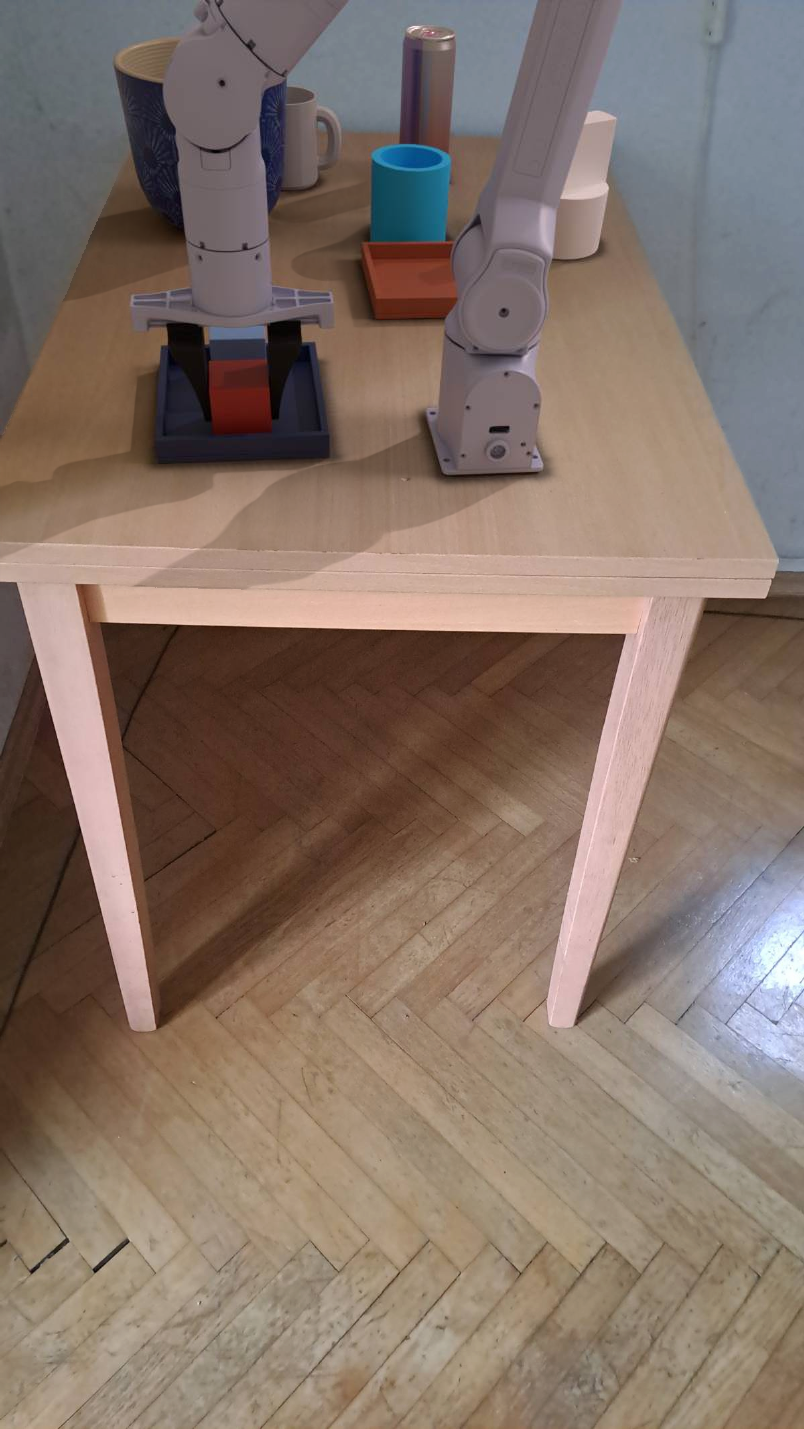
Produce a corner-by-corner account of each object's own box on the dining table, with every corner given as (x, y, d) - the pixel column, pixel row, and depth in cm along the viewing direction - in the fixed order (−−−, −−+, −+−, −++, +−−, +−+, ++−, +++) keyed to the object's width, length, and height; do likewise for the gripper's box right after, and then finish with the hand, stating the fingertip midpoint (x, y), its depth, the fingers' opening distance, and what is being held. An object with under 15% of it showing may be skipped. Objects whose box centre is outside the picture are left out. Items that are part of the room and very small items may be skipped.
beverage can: (391, 181, 119) (396, 34, 108) (406, 166, 123) (412, 22, 112) (439, 189, 118) (449, 40, 107) (452, 173, 122) (462, 28, 111)
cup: (259, 168, 120) (254, 84, 114) (341, 171, 121) (341, 87, 114) (255, 190, 115) (250, 103, 109) (341, 193, 116) (341, 106, 109)
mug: (442, 258, 104) (448, 174, 98) (365, 251, 105) (367, 167, 99) (449, 215, 113) (455, 135, 107) (378, 209, 113) (380, 129, 107)
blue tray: (329, 457, 77) (329, 434, 76) (157, 463, 76) (154, 440, 74) (315, 363, 88) (315, 341, 86) (163, 366, 86) (160, 344, 85)
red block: (272, 440, 78) (269, 387, 74) (214, 442, 77) (208, 389, 74) (270, 411, 81) (267, 359, 77) (214, 412, 80) (208, 360, 77)
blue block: (268, 389, 83) (265, 338, 80) (214, 391, 83) (208, 339, 79) (266, 363, 86) (263, 313, 83) (214, 365, 86) (208, 314, 82)
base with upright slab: (563, 221, 113) (581, 101, 104) (615, 250, 108) (639, 127, 99) (499, 235, 109) (513, 112, 101) (550, 265, 104) (569, 139, 95)
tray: (501, 316, 95) (503, 296, 94) (375, 319, 94) (376, 298, 92) (476, 260, 104) (477, 240, 103) (361, 261, 103) (361, 241, 101)
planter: (299, 195, 115) (294, 40, 104) (285, 255, 103) (278, 87, 92) (152, 188, 114) (131, 31, 103) (122, 247, 103) (95, 78, 92)
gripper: (327, 212, 72) (329, 386, 82) (123, 214, 70) (150, 391, 80) (336, 252, 67) (337, 431, 77) (117, 255, 65) (147, 437, 75)
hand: (242, 414), depth 78 cm, fingers closed on red block, 4 cm apart
